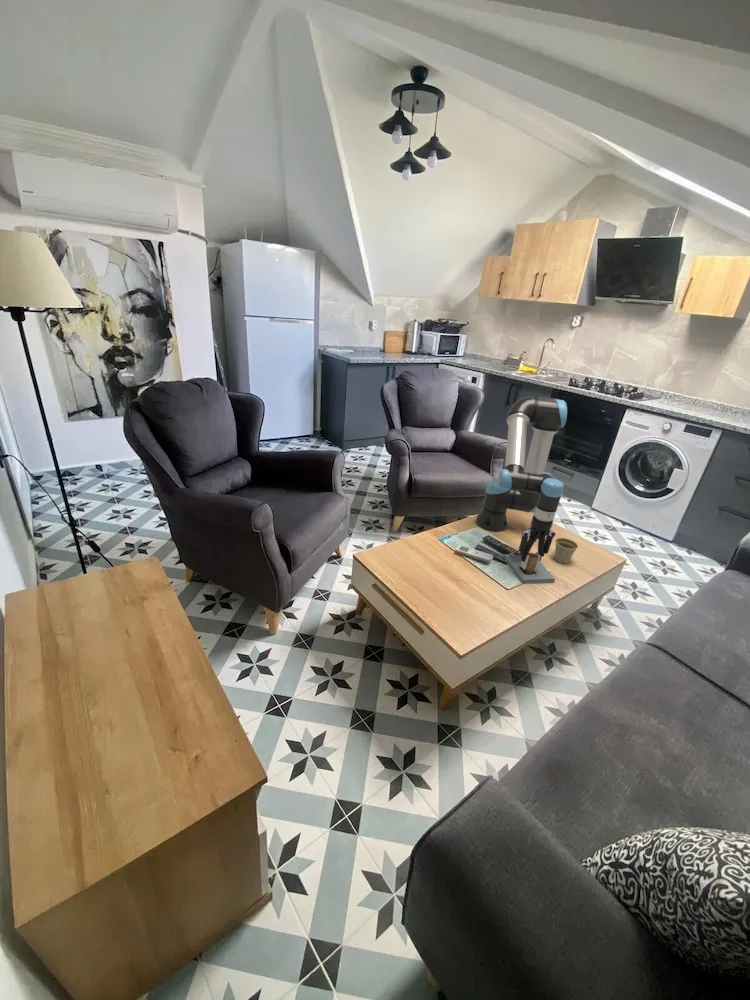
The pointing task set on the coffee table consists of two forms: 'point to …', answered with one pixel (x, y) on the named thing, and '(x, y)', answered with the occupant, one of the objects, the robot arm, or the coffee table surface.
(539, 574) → the housing plate
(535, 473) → the robot arm
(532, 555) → the walnut peg
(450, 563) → the coffee table surface
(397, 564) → the coffee table surface
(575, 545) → the flower pot
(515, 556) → the bar
